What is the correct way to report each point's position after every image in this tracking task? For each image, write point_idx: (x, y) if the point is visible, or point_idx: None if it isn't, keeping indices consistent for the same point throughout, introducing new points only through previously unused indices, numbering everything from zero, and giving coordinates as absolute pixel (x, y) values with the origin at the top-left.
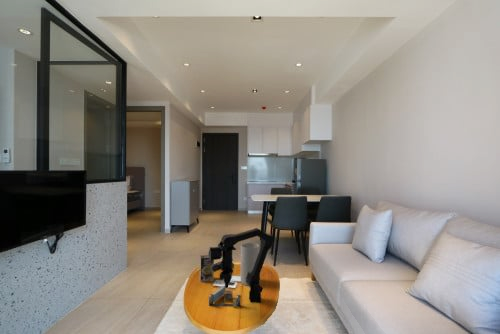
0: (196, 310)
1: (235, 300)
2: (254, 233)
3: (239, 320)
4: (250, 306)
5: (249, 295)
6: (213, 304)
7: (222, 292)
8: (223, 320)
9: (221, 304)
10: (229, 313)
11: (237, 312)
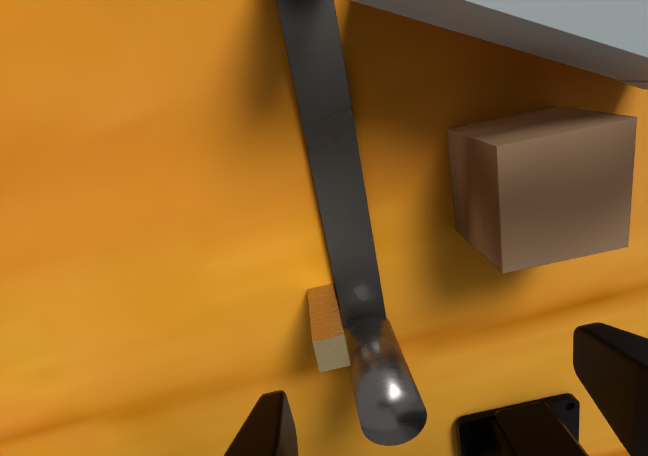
0: None
1: (320, 369)
2: None
3: (70, 422)
4: None
5: (519, 454)
6: (308, 4)
7: (611, 66)
8: None
9: (335, 131)
10: (163, 292)
11: (216, 362)
